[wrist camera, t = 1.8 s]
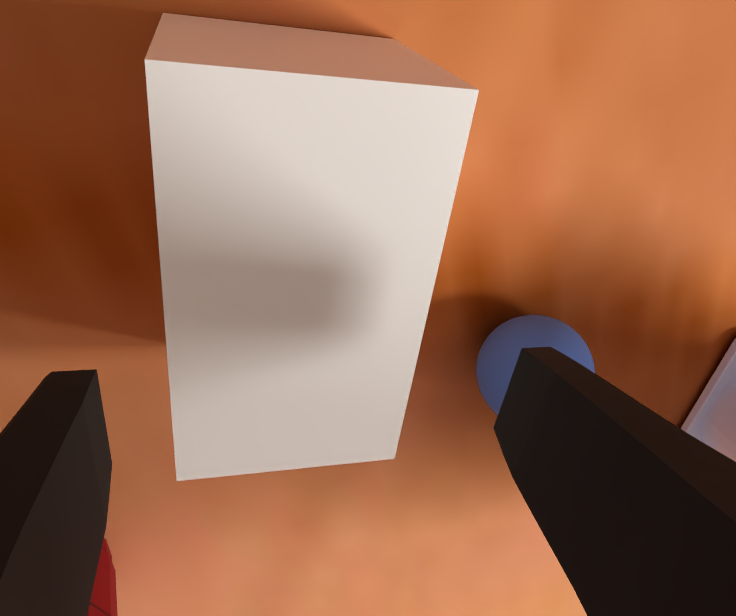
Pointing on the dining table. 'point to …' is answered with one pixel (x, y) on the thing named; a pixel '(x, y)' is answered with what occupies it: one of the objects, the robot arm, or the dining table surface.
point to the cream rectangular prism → (296, 236)
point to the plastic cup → (104, 586)
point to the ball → (507, 344)
